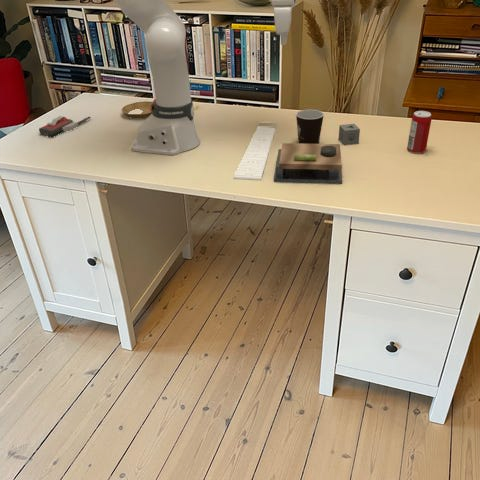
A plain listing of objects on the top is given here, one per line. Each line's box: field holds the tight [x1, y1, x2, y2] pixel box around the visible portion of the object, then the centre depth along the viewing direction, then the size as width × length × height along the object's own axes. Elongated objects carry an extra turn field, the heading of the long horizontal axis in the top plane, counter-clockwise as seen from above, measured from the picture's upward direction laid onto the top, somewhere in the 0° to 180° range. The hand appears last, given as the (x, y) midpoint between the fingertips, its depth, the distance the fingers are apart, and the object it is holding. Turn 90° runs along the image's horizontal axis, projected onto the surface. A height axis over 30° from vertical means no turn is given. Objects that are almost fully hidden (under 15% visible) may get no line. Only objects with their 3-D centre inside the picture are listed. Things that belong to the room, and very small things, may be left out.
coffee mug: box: [295, 109, 325, 144], centre depth 158 cm, size 12×9×10 cm
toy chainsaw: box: [38, 116, 91, 138], centre depth 179 cm, size 9×4×20 cm
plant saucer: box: [121, 101, 153, 119], centre depth 189 cm, size 15×15×3 cm
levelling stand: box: [273, 148, 343, 185], centre depth 143 cm, size 19×15×4 cm
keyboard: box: [233, 121, 278, 181], centre depth 159 cm, size 45×8×2 cm, turn 170°
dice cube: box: [338, 123, 361, 146], centre depth 159 cm, size 5×5×5 cm
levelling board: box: [279, 142, 343, 170], centre depth 141 cm, size 17×14×3 cm
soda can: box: [406, 110, 432, 155], centre depth 149 cm, size 6×6×12 cm
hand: (283, 43), depth 152 cm, fingers closed
